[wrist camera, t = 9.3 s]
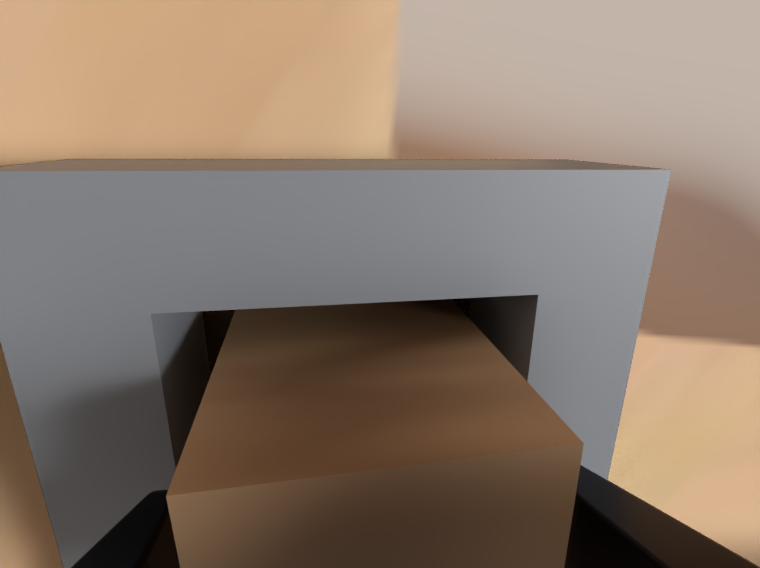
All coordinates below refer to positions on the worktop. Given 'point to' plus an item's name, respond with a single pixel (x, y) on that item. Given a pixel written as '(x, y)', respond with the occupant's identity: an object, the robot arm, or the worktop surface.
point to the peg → (371, 447)
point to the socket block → (296, 290)
